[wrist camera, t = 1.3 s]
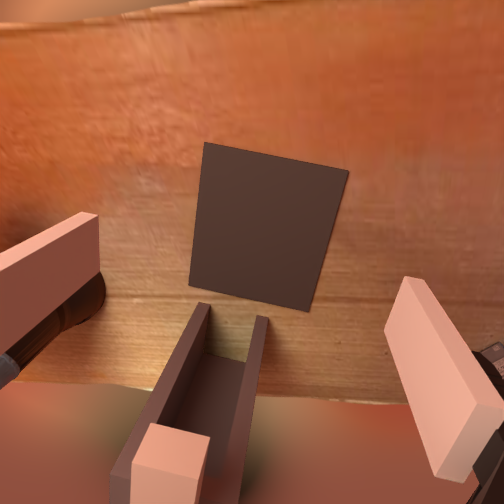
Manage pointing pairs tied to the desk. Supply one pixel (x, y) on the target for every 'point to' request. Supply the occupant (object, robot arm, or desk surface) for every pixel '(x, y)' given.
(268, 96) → the desk surface
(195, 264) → the mat
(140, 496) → the pale pink long block
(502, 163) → the desk surface
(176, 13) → the desk surface
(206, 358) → the tall stand
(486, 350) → the ink cartridge box
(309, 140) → the desk surface
